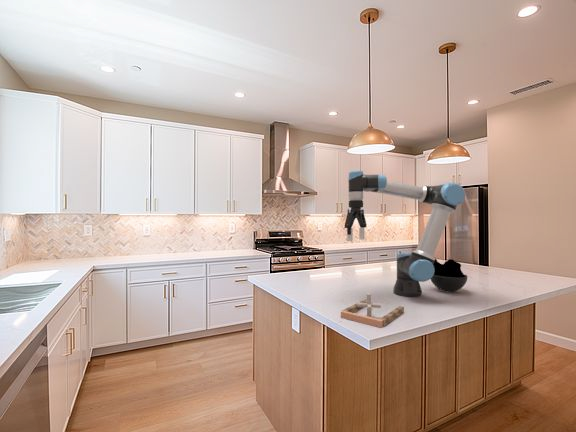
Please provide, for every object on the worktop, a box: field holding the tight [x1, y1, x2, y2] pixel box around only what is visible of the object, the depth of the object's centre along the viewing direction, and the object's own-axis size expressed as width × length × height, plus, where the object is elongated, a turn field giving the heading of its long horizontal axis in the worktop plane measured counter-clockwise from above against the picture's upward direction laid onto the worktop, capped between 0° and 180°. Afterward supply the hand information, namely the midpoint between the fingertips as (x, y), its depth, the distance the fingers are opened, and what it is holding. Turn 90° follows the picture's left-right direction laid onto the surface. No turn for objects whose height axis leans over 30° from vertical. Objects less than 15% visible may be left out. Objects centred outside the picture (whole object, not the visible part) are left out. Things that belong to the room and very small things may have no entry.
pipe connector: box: [356, 292, 382, 317], centre depth 129 cm, size 10×10×10 cm
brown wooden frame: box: [341, 298, 405, 327], centre depth 132 cm, size 23×19×2 cm
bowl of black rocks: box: [430, 258, 468, 293], centre depth 174 cm, size 20×20×19 cm
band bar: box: [340, 310, 384, 328], centre depth 123 cm, size 2×18×2 cm, turn 49°
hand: (356, 240), depth 156 cm, fingers open, 13 cm apart
